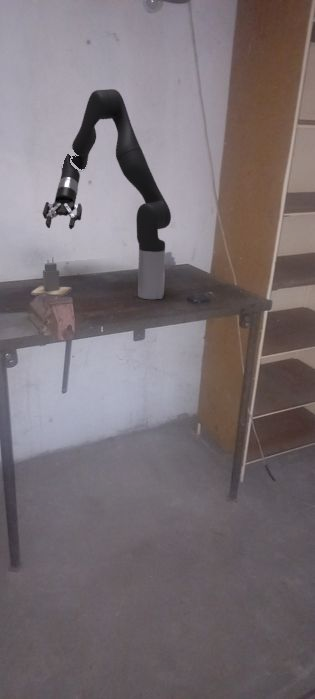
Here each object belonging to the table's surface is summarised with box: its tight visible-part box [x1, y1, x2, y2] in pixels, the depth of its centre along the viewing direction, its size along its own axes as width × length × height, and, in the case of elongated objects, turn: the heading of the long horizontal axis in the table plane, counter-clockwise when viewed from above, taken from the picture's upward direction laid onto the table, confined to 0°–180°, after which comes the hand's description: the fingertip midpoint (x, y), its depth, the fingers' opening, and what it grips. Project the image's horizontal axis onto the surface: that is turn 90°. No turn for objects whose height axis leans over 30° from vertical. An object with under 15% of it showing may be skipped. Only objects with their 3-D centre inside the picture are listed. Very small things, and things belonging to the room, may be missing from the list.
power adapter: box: [42, 256, 61, 291], centre depth 187 cm, size 3×5×12 cm, turn 120°
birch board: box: [30, 285, 72, 297], centre depth 190 cm, size 12×10×1 cm
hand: (59, 227), depth 192 cm, fingers open, 8 cm apart
